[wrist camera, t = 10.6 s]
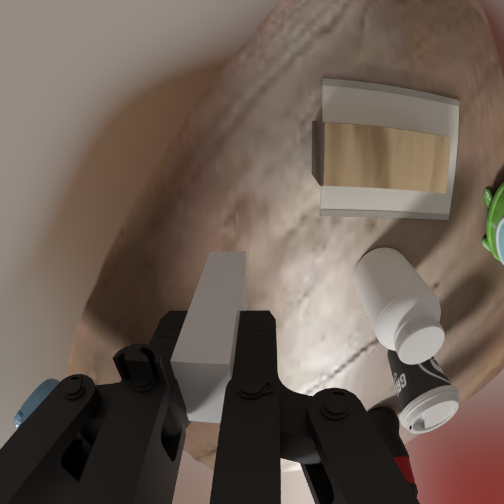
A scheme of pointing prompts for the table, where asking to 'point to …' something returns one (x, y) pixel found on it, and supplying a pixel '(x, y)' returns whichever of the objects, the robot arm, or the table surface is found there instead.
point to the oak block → (379, 157)
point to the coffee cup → (423, 394)
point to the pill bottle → (399, 305)
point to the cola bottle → (393, 441)
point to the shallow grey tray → (394, 116)
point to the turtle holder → (495, 223)
